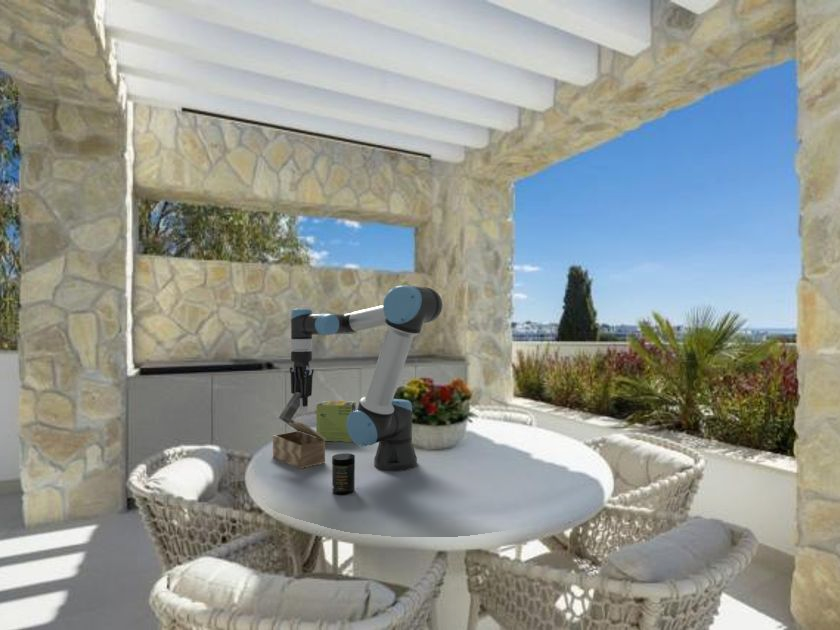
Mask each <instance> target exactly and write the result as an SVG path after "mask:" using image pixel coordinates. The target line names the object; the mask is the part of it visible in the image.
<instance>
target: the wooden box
mask: <svg viewBox="0 0 840 630" xmlns="http://www.w3.org/2000/svg"><path fill="white" fill-rule="evenodd" d="M272 457H273V458H274V459H277V460H280V461H281V462H284V463H286V464H287V465H290V466H292V467H294V466H295V468H296V467H297V469H299V470H301V469H300V468H302V469H305V468H304V467H306V468H309V467H308V466H310V467H313V466H312V465H314V466H317V465H316V464H318V465H321V464H320V463H323V464H325V463H326V442H325V440H322V439H319V438H316V437H314V436H311V435H308V434H305V433H303V432H300V431H297V430H295V431H290V432H285V433H280V434H273V435H272ZM324 462H325V463H324Z"/></svg>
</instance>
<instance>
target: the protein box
mask: <svg viewBox="0 0 840 630" xmlns="http://www.w3.org/2000/svg"><path fill="white" fill-rule="evenodd" d="M355 410H357V402H356V400H326V401H325V400H324V401H320V402H319V403H318V404H316V424H315V425H316V430H315V432H317V433H318V434H320V435H321V436H323V437H324V438H326V440H325V441H344V442H343V443H352V442H354V441H353V440H352V439H351V438H350V436H349V433H348V431H347V426H346V423H347V418H348V416H349V414H350V413H352V412H353V411H355ZM316 438H317V437H316ZM319 439H320V438H319ZM322 440H323V439H322Z"/></svg>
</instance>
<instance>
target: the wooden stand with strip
mask: <svg viewBox="0 0 840 630" xmlns="http://www.w3.org/2000/svg"><path fill="white" fill-rule="evenodd" d="M300 396H301V393H299V392H295V393H294V394H293V395H292V396H291V397H290V399H289V401H288V402H287V404H286V406H285V407H284V408H283V410H282V411H281V413H280V415H279V416H278V419H279V420H281V421H283V423H285V424H287V425H288V426H290V427H291V428H293V429H294V430H295V431H299V432H302V433H305V434H308V435H310V436H313V437H317V438H320V439H323V440H326V438H324V437H323V436H321V435H320V434H318V433H317V432H316V430H314V429H313V428H311V427H309V426H308V425H307V424H304V423H301V422H298V421H294V420H293V417H294V415H296V414H295V412H296V411H297V409H298V408H299V406H300Z"/></svg>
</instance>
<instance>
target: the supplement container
mask: <svg viewBox="0 0 840 630" xmlns="http://www.w3.org/2000/svg"><path fill="white" fill-rule="evenodd" d="M355 462H356V456H355V454H353V453H348V452H345V453H337V454H334V455H333V456H331V465H332V466H331V473H332V475H331V476H332V477H331V481H332V483H331V484H332V485H331V488H332V489H331V490H332V493H333V494H334V495H339V496H345V495H350V494H352V493H353V492H354V491H355V489H356V488H355V487H356V476H355V475H356V474H355V470H356V469H355V468H356V467H355V465H356V463H355Z"/></svg>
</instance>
